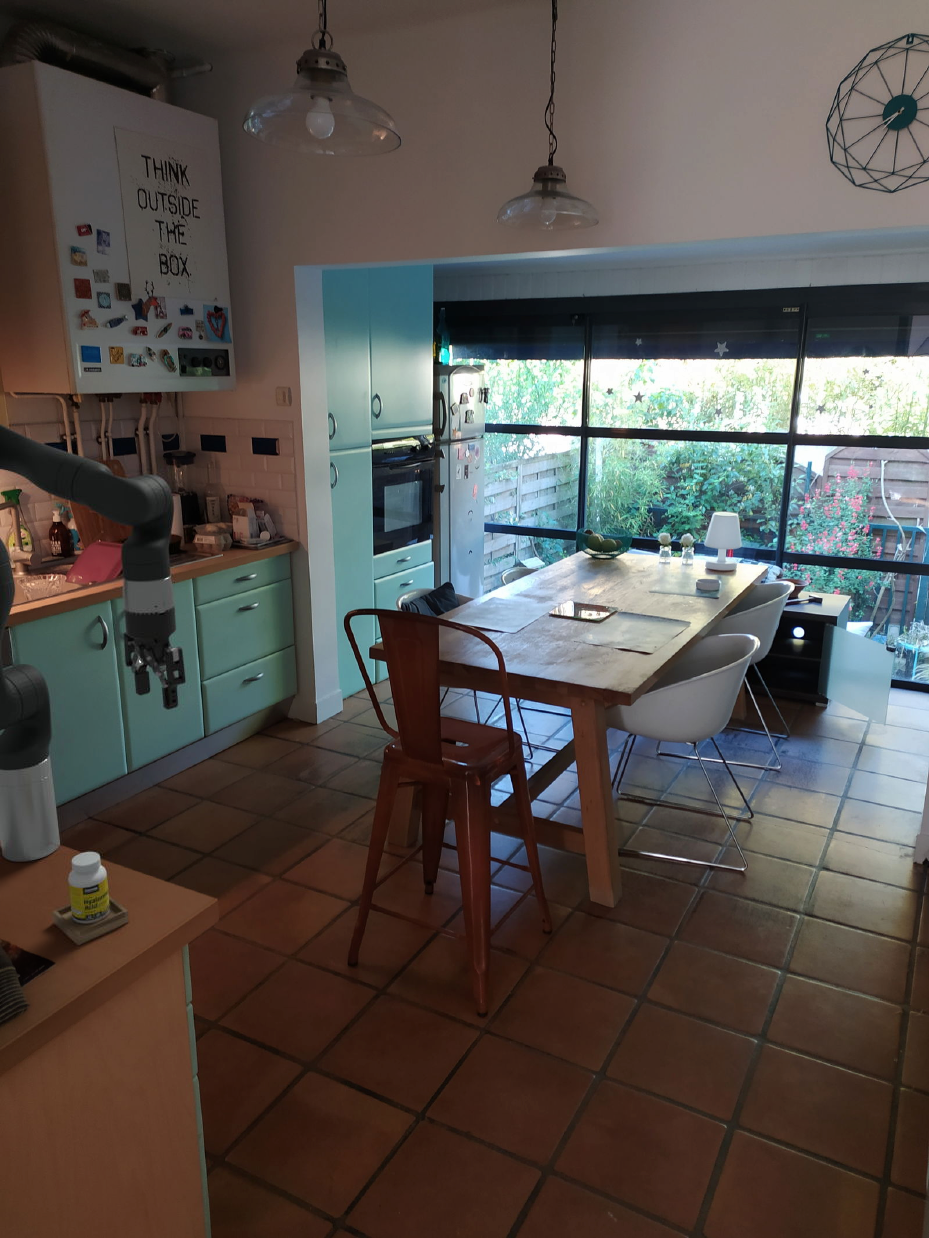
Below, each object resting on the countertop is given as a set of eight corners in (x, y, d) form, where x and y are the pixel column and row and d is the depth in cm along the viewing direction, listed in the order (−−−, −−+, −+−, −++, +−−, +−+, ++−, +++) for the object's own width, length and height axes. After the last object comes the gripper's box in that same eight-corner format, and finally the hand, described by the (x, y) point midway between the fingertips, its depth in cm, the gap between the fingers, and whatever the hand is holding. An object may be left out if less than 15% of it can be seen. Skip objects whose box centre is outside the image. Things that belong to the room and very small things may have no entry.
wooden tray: (53, 922, 140) (52, 911, 139) (103, 901, 146) (102, 890, 145) (78, 945, 135) (76, 933, 134) (128, 921, 141) (127, 910, 140)
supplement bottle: (85, 929, 137) (78, 872, 134) (65, 916, 140) (58, 859, 137) (117, 912, 141) (111, 856, 138) (97, 900, 144) (91, 845, 141)
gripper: (104, 600, 145) (113, 695, 150) (151, 618, 136) (159, 719, 141) (147, 591, 150) (155, 684, 155) (195, 608, 141) (201, 706, 146)
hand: (157, 700), depth 148 cm, fingers open, 8 cm apart
